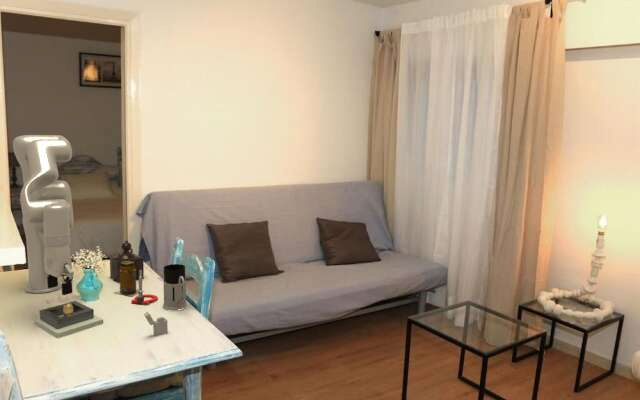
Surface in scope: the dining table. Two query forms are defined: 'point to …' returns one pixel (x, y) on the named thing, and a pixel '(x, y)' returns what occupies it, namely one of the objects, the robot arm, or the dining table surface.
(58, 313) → the square metal frame
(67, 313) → the post
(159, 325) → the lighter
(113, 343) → the dining table surface
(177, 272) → the glass holder
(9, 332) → the dining table surface
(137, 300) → the tow hook
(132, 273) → the condiment
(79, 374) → the dining table surface
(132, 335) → the dining table surface
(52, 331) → the plate
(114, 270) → the manual coffee grinder
